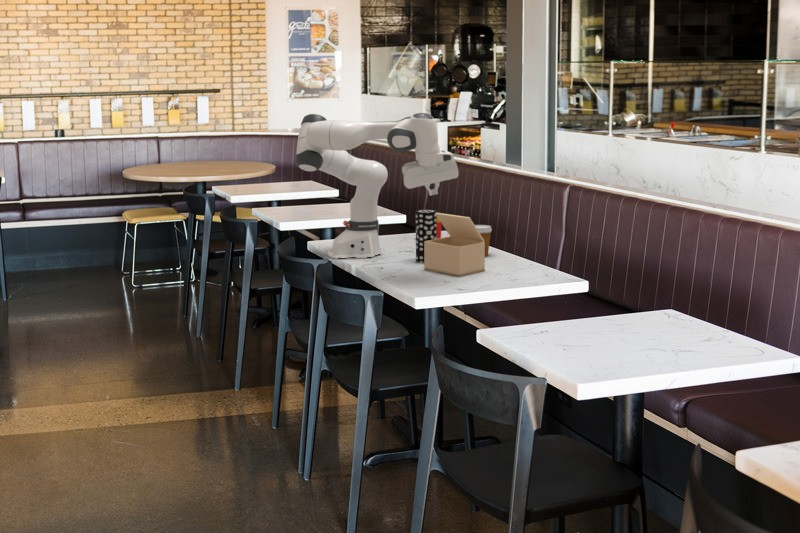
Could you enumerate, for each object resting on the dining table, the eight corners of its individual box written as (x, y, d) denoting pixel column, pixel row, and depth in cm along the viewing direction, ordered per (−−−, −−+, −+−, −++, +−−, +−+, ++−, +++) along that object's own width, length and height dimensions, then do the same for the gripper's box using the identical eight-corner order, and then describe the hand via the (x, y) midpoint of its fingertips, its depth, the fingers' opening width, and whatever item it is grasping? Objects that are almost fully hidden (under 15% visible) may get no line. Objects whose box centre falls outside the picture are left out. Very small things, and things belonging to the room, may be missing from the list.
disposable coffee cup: (493, 253, 398) (493, 225, 396) (489, 258, 389) (489, 228, 387) (470, 252, 401) (471, 224, 398) (466, 257, 392) (466, 228, 390)
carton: (459, 276, 357) (459, 247, 354) (424, 269, 369) (424, 241, 367) (484, 270, 366) (484, 242, 364) (449, 264, 379) (449, 236, 376)
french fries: (425, 241, 427) (425, 212, 424) (433, 240, 429) (433, 211, 426) (435, 245, 419) (435, 215, 416) (444, 244, 421) (444, 214, 418)
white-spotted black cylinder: (422, 258, 391) (422, 209, 387) (440, 260, 387) (440, 210, 383) (412, 262, 384) (411, 211, 380) (430, 264, 380) (430, 213, 376)
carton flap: (469, 218, 356) (469, 217, 357) (435, 213, 368) (436, 212, 369) (483, 241, 364) (484, 240, 364) (450, 236, 376) (451, 235, 376)
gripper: (403, 166, 344) (409, 203, 349) (457, 154, 348) (462, 190, 353) (398, 162, 349) (403, 198, 354) (451, 150, 354) (456, 186, 359)
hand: (433, 194), depth 354 cm, fingers closed
